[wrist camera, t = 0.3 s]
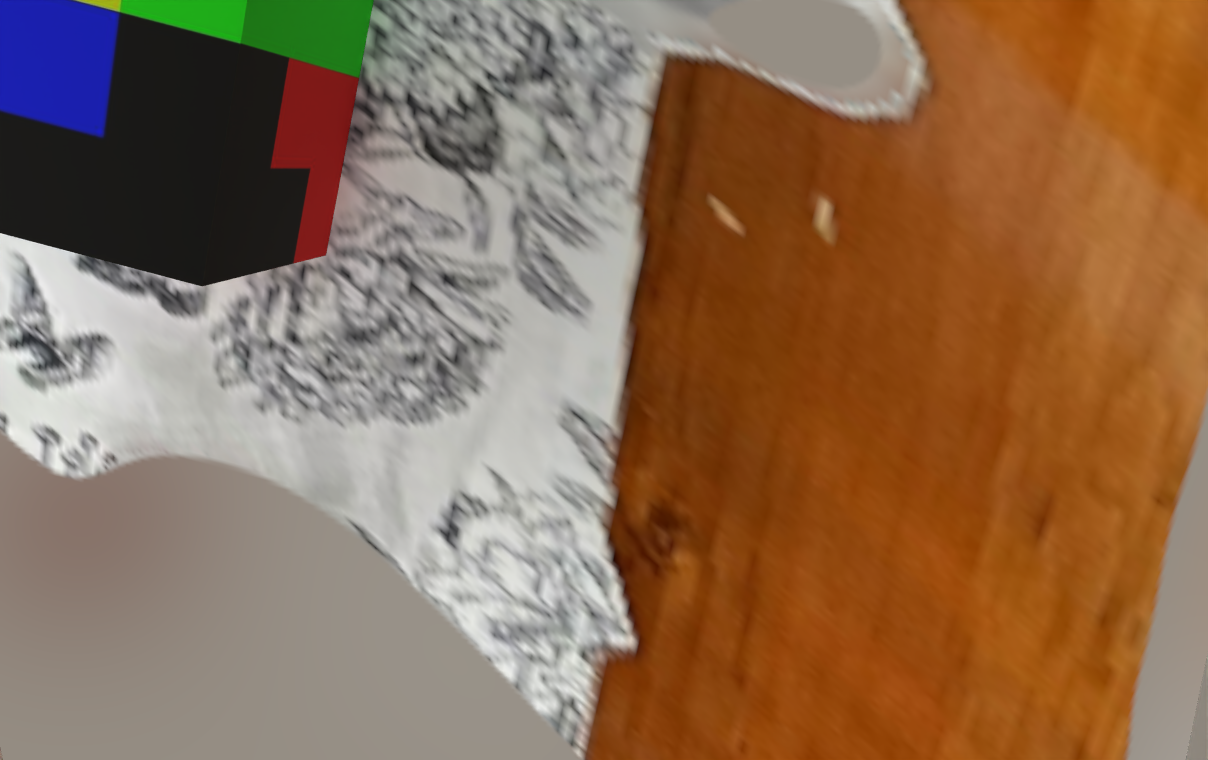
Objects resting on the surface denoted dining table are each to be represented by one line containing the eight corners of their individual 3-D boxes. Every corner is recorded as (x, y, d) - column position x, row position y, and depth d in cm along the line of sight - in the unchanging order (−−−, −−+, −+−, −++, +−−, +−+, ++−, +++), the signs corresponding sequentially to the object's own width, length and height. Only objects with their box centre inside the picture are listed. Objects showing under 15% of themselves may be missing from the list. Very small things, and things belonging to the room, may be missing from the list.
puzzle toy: (75, 189, 37) (-140, 195, 27) (109, -86, 34) (-112, -186, 25) (326, 255, 37) (202, 286, 27) (377, -16, 34) (261, -89, 25)
